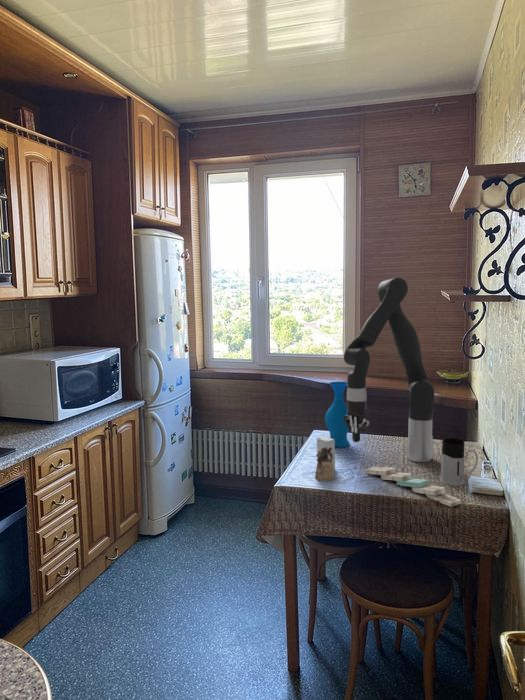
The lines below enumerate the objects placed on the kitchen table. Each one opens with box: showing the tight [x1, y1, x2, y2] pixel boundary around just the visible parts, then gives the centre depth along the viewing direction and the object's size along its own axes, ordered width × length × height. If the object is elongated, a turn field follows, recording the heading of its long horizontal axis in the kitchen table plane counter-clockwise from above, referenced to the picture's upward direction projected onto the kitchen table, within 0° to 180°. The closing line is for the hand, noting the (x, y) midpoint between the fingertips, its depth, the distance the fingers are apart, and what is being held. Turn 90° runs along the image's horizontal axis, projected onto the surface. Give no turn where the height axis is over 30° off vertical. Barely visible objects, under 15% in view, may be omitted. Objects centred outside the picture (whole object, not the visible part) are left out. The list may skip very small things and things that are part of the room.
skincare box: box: [316, 436, 336, 470], centre depth 206 cm, size 6×4×12 cm
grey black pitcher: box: [439, 437, 479, 487], centre depth 190 cm, size 9×14×15 cm, turn 35°
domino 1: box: [365, 466, 396, 476], centre depth 198 cm, size 5×2×10 cm
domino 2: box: [380, 471, 413, 482], centre depth 193 cm, size 5×2×10 cm
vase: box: [324, 381, 350, 448], centre depth 235 cm, size 12×13×28 cm
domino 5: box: [425, 493, 462, 508], centre depth 176 cm, size 5×2×10 cm
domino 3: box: [395, 477, 430, 488], centre depth 187 cm, size 5×2×10 cm
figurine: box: [314, 446, 335, 482], centre depth 196 cm, size 7×7×12 cm
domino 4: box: [411, 484, 446, 496], centre depth 180 cm, size 5×2×10 cm
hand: (356, 441), depth 208 cm, fingers closed
